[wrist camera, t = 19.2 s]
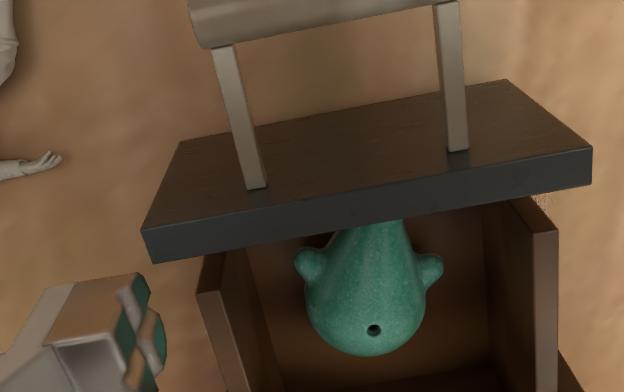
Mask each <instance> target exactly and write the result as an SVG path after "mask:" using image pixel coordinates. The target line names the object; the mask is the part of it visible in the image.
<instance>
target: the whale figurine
mask: <svg viewBox="0 0 624 392" xmlns="http://www.w3.org/2000/svg"><path fill="white" fill-rule="evenodd" d="M293 264H294V267H295V269H296V270H297V272H298V273H299V274H300V276H301V277H302V278H303V279H304V281H305V290H304V298H305V307H306V312H307V315H308V318H309V320H310V322H311V324H312V326H313V328H314V329H315V331H316V332H317V333H318V334H319V335H320V336H321V338H322V339H323V340H325V341H326V342H327V343H328V344H329V345H331V346H332V347H334V348H336V349H338V350H339V351H342V352H344V353H347V354H350V355H355V356H362V357H370V356H378V355H383V354H386V353H389V352H391V351H394V350H395V349H397V348H399V347H400V346H402V345H403V344H405V343H406V342H407V341H408V340H409V339H410V338H411V337H412V336H413V335H414V333H415V332H416V331H417V329H418V328H419V326H420V324H421V322H422V320H423V317H424V313H425V307H426V299H425V295H426V291H427V289H428V288H429V287H430V286H431V285H432V284H433V283H434V282H436V281H437V280H438V279H439V278H440V276H441V275H442V273H443V269H444V263H443V260H442V258H441V257H440V256H438V255H436V254H434V253H425V254H417V253H415V252H414V251H413V249H412V246H411V243H410V240H409V237H408V235H407V232H406V230H405V227H404V224H403V219H400V220H394V221H389V222H383V223H378V224H372V225H367V226H362V227H356V228H351V229H345V230H340V231H335V233H334V234H333V236H332V237H331V239H330V240H329V242H328V243H327V244H326V246H325V247H323V248H321V249H317V248H313V247H311V246H305V247H301V248H300V249H298V250H297V252H296V253H295V255H294V258H293Z"/></svg>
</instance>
